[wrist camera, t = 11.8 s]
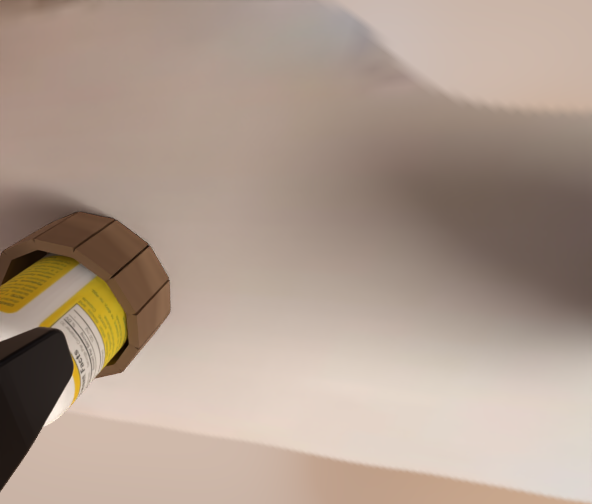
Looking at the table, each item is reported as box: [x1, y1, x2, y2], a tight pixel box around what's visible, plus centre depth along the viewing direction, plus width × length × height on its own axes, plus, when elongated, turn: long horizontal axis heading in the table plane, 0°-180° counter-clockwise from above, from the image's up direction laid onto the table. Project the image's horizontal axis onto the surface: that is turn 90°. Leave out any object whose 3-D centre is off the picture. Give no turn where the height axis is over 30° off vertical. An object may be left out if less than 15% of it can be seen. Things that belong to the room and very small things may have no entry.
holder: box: [0, 212, 170, 379], centre depth 23 cm, size 7×7×3 cm
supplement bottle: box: [0, 253, 128, 427], centre depth 20 cm, size 5×5×10 cm
